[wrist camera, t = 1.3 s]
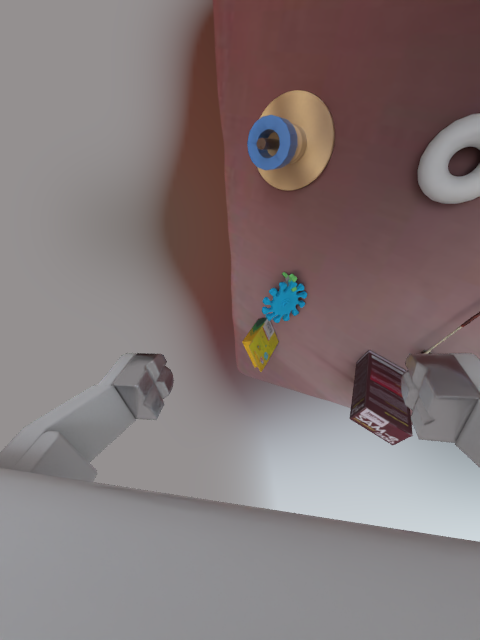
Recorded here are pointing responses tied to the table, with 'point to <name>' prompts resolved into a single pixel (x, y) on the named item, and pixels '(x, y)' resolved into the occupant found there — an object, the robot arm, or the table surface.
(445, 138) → the donut
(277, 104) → the stand
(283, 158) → the ring
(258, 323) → the crayon box
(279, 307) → the gear
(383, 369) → the supplement box
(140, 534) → the robot arm
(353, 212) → the table surface
